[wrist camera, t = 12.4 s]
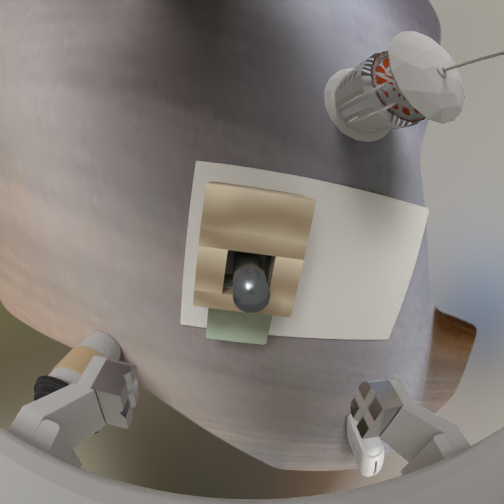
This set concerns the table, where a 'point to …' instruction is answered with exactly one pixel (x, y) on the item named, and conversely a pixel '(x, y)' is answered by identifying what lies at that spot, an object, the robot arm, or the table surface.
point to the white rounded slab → (365, 449)
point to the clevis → (252, 241)
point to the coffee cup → (77, 363)
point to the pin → (249, 282)
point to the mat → (326, 255)
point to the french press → (397, 88)
